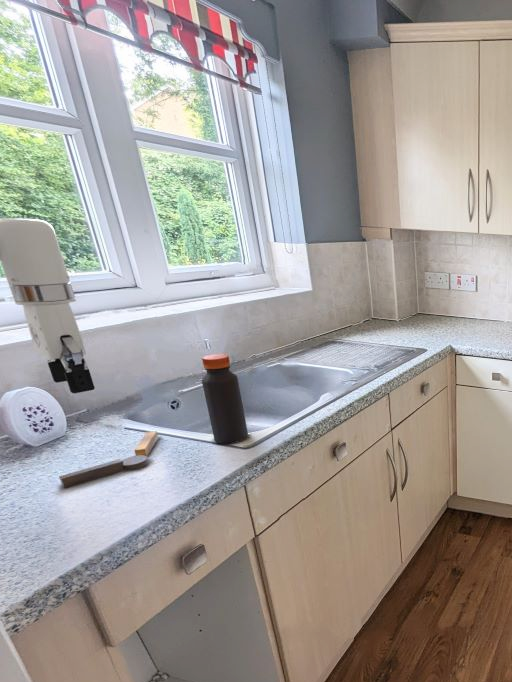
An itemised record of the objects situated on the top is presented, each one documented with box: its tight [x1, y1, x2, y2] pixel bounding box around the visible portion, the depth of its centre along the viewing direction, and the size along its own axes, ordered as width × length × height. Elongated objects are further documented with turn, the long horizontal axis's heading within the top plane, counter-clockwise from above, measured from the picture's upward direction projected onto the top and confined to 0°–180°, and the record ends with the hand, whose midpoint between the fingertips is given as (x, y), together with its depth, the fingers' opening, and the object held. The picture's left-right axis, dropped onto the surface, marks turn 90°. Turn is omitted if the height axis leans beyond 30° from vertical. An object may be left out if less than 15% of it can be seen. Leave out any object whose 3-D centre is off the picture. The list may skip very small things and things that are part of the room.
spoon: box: [58, 455, 149, 489], centre depth 90 cm, size 13×4×2 cm, turn 146°
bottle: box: [201, 353, 249, 445], centre depth 104 cm, size 7×7×20 cm
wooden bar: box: [134, 430, 159, 457], centre depth 101 cm, size 10×2×2 cm, turn 26°
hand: (74, 385), depth 85 cm, fingers open, 9 cm apart
